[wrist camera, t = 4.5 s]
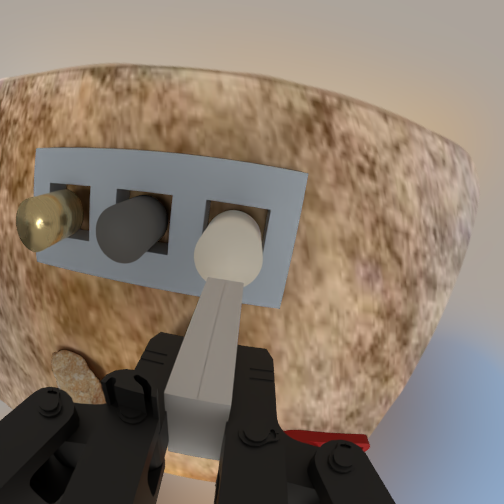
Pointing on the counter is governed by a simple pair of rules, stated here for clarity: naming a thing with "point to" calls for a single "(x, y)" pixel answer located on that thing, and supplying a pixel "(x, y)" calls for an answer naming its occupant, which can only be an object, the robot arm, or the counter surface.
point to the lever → (328, 438)
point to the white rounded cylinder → (230, 248)
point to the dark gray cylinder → (131, 228)
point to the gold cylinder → (48, 219)
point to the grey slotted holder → (173, 213)
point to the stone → (76, 378)
